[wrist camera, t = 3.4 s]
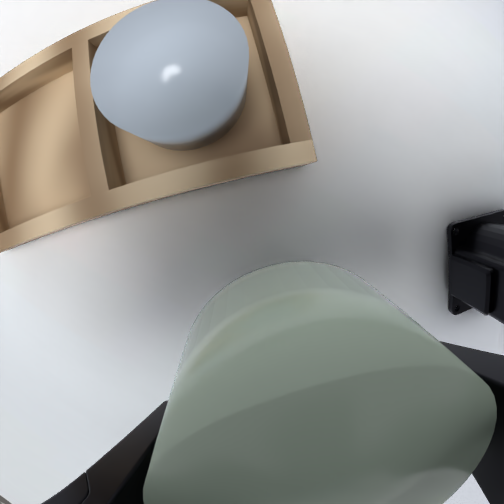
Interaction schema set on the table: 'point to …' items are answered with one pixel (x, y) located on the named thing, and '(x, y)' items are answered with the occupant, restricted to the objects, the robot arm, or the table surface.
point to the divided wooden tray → (127, 144)
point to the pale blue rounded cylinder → (173, 73)
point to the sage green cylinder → (316, 400)
